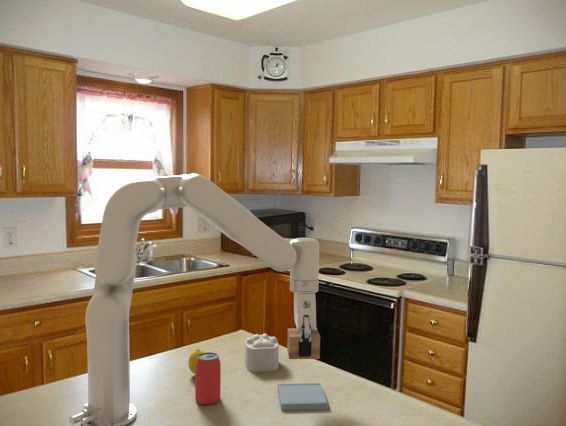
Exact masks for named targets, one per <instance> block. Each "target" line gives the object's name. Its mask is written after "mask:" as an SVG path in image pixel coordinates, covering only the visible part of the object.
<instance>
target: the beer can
mask: <svg viewBox="0 0 566 426" xmlns="http://www.w3.org/2000/svg"><path fill="white" fill-rule="evenodd" d="M219 356H220V355H219V354H218V353H216V352H208V351H207V352H204V353H201V354H199V355H198V357H197V358H198V359H197V361H196V365H195V376H194V377H195V378H194V380H195V383H194V385H195V386H194V387H195V390H194V393H195V395H194V397H195V401H196V402H197V404H198V403H199V405H204V406H205V405H214V404H216V403H219V401H220V399H221V372H222V367H221V366H222V365H221V363H222V362H221V360H220V358H219Z"/></svg>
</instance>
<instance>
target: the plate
mask: <svg viewBox="0 0 566 426" xmlns="http://www.w3.org/2000/svg"><path fill="white" fill-rule="evenodd" d="M277 392H278V400H279V406H280V411H302V410H303V411H305V410H306V411H307V410H314V411H315V410H328V401H327V398H326V395H325V392H324V390H323V387H322V385H321V383H320V382H319V383H318V382H315V383H311V382H310V383H309V382H308V383H307V382H306V383H305V382H304V383H277Z"/></svg>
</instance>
